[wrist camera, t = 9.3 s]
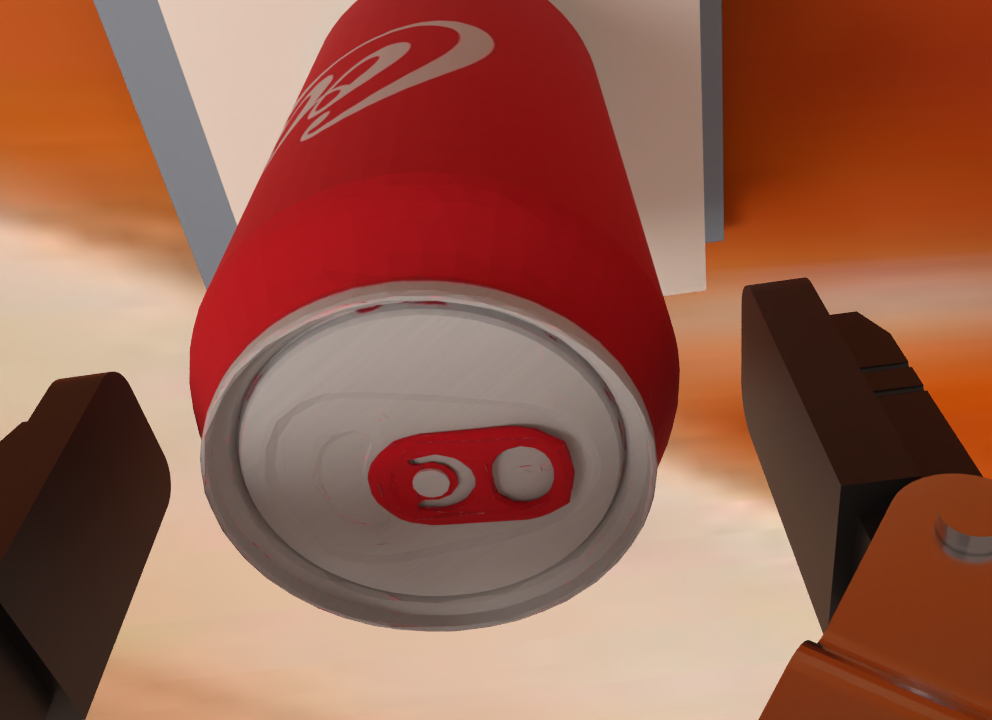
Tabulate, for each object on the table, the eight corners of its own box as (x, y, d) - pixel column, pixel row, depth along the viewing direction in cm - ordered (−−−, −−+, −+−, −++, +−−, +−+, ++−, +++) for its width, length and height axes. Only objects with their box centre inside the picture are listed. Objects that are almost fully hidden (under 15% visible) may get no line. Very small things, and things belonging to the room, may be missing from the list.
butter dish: (-7, -306, 21) (-160, -311, 16) (707, -447, 19) (783, -501, 14) (222, 294, 30) (171, 409, 25) (716, 225, 29) (765, 331, 24)
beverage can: (284, -26, 18) (59, 274, 9) (592, -60, 18) (716, 211, 8) (345, 247, 22) (234, 675, 12) (602, 222, 22) (698, 642, 12)
